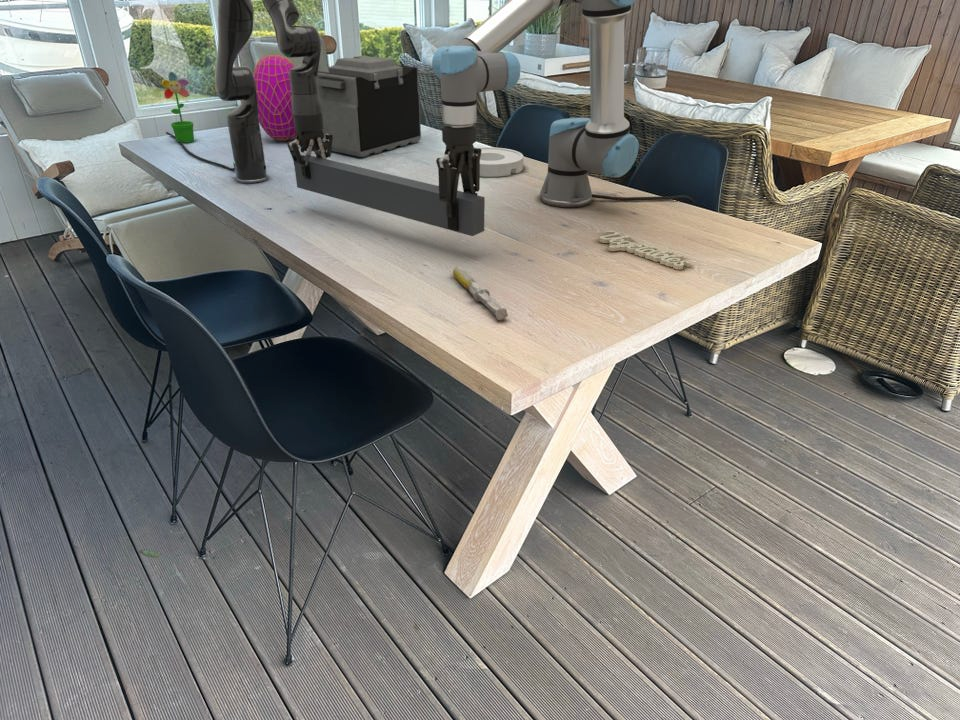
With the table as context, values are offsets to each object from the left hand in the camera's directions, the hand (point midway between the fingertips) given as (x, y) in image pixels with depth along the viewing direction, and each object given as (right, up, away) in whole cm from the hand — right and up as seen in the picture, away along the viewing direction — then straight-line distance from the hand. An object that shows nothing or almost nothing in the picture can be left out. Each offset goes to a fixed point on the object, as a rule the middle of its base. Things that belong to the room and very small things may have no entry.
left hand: (314, 176), depth 186 cm
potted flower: (-67, +33, +75) cm, 106 cm away
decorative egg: (-31, +35, +78) cm, 91 cm away
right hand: (+40, -18, -25) cm, 51 cm away
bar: (+20, -11, -11) cm, 26 cm away
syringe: (+45, -37, -41) cm, 71 cm away
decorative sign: (+84, -24, -19) cm, 89 cm away
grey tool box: (+4, +31, +72) cm, 78 cm away
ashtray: (+48, +15, +47) cm, 69 cm away
